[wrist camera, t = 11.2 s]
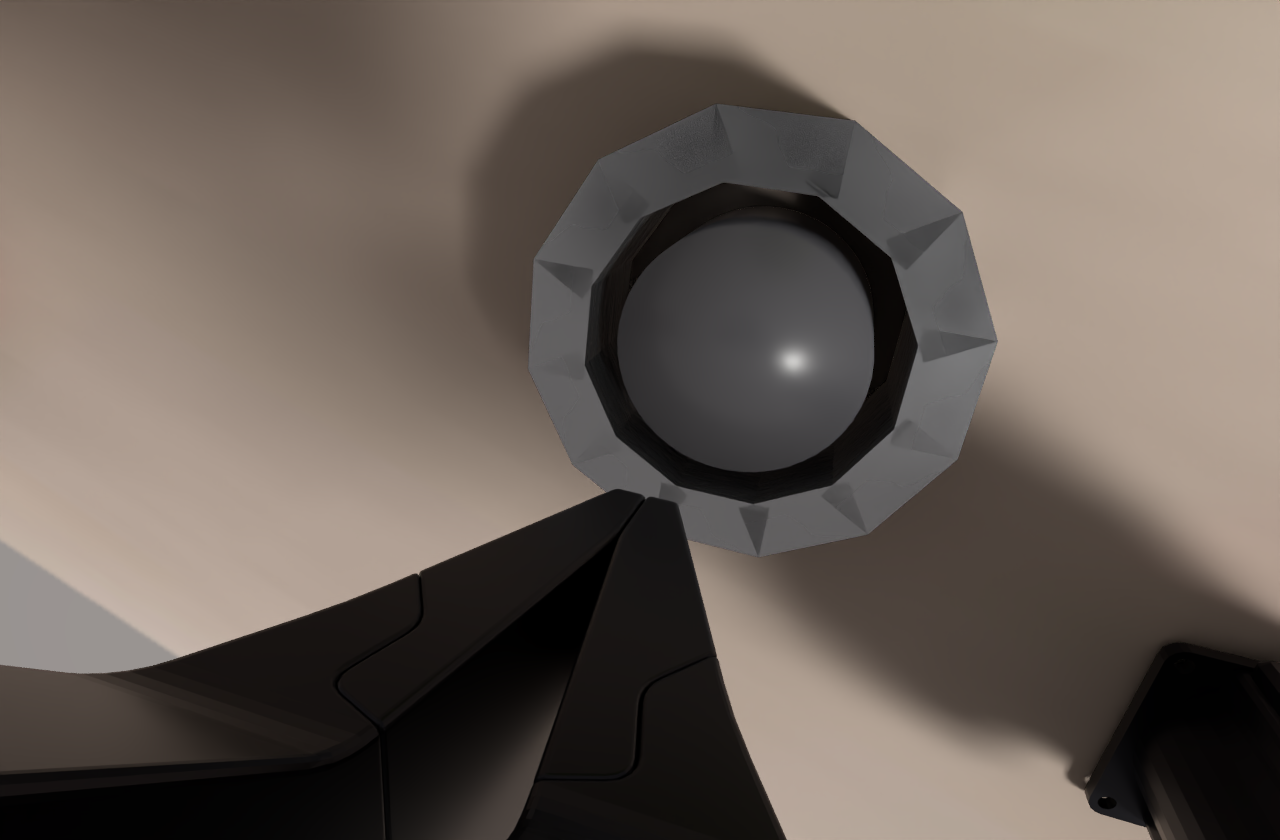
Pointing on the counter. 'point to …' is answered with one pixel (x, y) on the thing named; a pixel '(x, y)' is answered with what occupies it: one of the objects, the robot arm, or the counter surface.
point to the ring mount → (888, 420)
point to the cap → (750, 340)
